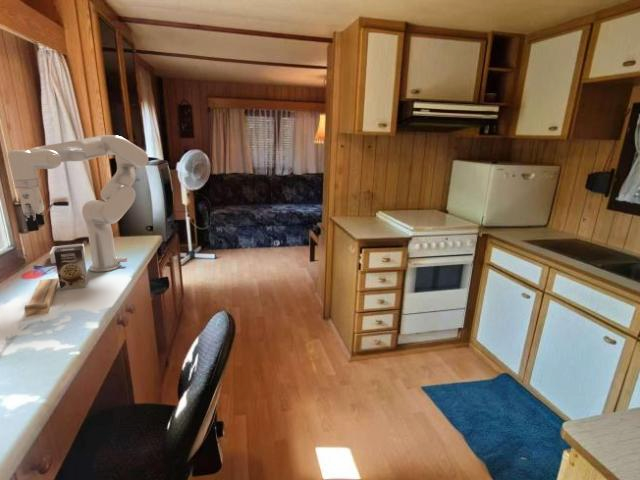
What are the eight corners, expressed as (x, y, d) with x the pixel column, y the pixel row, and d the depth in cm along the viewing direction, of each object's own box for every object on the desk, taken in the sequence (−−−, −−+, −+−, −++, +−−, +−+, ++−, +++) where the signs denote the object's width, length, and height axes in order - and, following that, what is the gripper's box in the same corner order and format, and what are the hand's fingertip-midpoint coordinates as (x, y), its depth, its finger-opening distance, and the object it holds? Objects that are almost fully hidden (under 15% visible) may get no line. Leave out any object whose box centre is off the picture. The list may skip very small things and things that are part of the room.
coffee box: (60, 290, 141) (52, 252, 136) (62, 284, 146) (55, 247, 142) (87, 287, 145) (81, 249, 140) (88, 281, 150) (82, 245, 146)
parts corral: (85, 252, 185) (83, 243, 184) (83, 259, 175) (82, 250, 174) (54, 256, 179) (53, 246, 178) (51, 263, 169) (49, 253, 168)
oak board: (59, 282, 149) (57, 274, 148) (48, 313, 124) (46, 303, 123) (41, 284, 146) (39, 276, 145) (26, 316, 121) (24, 307, 120)
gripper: (33, 186, 128) (43, 232, 133) (44, 180, 143) (53, 221, 148) (7, 187, 125) (18, 234, 130) (21, 181, 140) (30, 223, 145)
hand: (36, 227), depth 139 cm, fingers open, 9 cm apart
